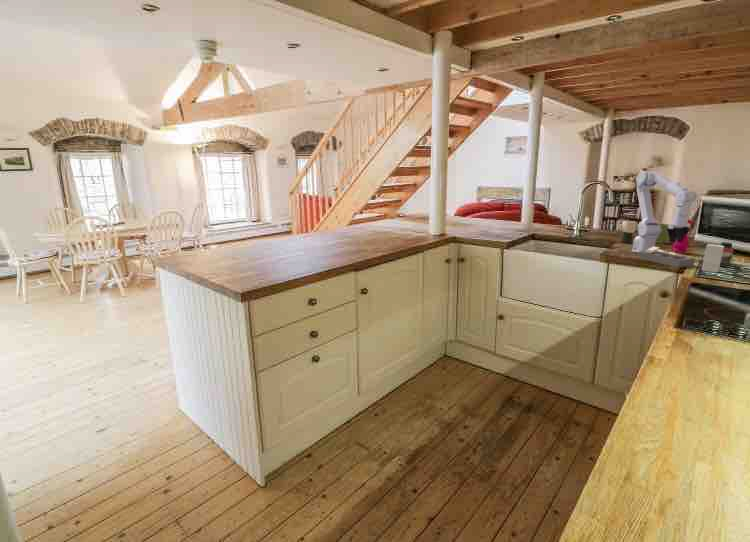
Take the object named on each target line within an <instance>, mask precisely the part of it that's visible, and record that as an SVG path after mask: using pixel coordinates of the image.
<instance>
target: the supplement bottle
mask: <svg viewBox="0 0 750 542" xmlns="http://www.w3.org/2000/svg"><path fill="white" fill-rule="evenodd" d="M720 245H721V246H724V249H723V254H722V258H721V262H720V267H722V268H723V267H724V268H725V267H726V268H728V267H730V264H731V261H732V257H733V254H734V247H733V243H732V242H728V241H722V242H721V244H720Z"/></svg>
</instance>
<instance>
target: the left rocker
mask: <svg viewBox="0 0 750 542" xmlns="http://www.w3.org/2000/svg"><path fill="white" fill-rule="evenodd" d="M658 249H659V250H660V247H659V246H655V247H654V246H653V247H651V248H649V249H647V250H646V252H648V253H653V252H655V251H657V250H658Z"/></svg>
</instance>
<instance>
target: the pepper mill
mask: <svg viewBox="0 0 750 542" xmlns="http://www.w3.org/2000/svg"><path fill="white" fill-rule="evenodd" d="M687 223H689V224H690V228H692V227H693V220H691V219H690V217H689V218H688V222H687ZM688 235H689V232H688V233H687V234H686V236H685V237H684V239H683V241H682V242H677V238H676V241H675V243H672V245H673V247H674V248H673V249H672V252H673V251H674V253H675V252H678V253H677V254H683V253H684V254H687V251H688V250H687V249H688V248H689V247H690V240H689V236H688Z"/></svg>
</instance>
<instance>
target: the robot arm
mask: <svg viewBox="0 0 750 542" xmlns="http://www.w3.org/2000/svg"><path fill="white" fill-rule="evenodd" d="M635 181H636V192H637V193H636V194H637V198H638V204H639V210H640V215H641V221H640V222H639V223H638V224H637V225H638V226H639V228H638V230H637V233H638V235H637V236H635V238H634V241H633V244H632V249H631V252H632V253H636V252H637V254H638V251H646V250H647V249H649V248H651V247H653V246H654V247H656V243H655V242H656V238H658V236H659V235H660V234H661V232H662V228H661V226H660V225H659V224H660V222H659V221H658V220H657V219H655V215H654V210H653V203H652V197H651V192H650V190H651V189H652V188H653V187H655V186H656V185H657V184H658V185H660V186H662V187H663V188H666V192H667V193H668V194H670V195H671V196H673V197H674V198H675V202H676V207H675V210H674V216H673V221H672V223H670V224H669V226H668V228H667V231H668V234H669V237H668V239H669V240H668V242H669V243H670V244H673V243H675V241H676V238H677V242H682V241H683V239H684V237H685V236H686V234H687V233H688V234H689V232H690V231H691V227H690V224H689V223H687V222H688V218H689V219H690V212H691V209H692V205H693V203H694V202H695V201H696V199H697V192H696V191H695V190H693V189H688V188H687V187H685V186H684V185H682V184H681V183H680V182H679V181H677V182H675V181H674V182H672V181H671V180H670V179H668V178H667V177H666V176H664V174H663V173H662V172H660V171H657V170H656V171H652V170H651V171H646V170H641V171H639V172H638V174H637V176H635Z"/></svg>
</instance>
